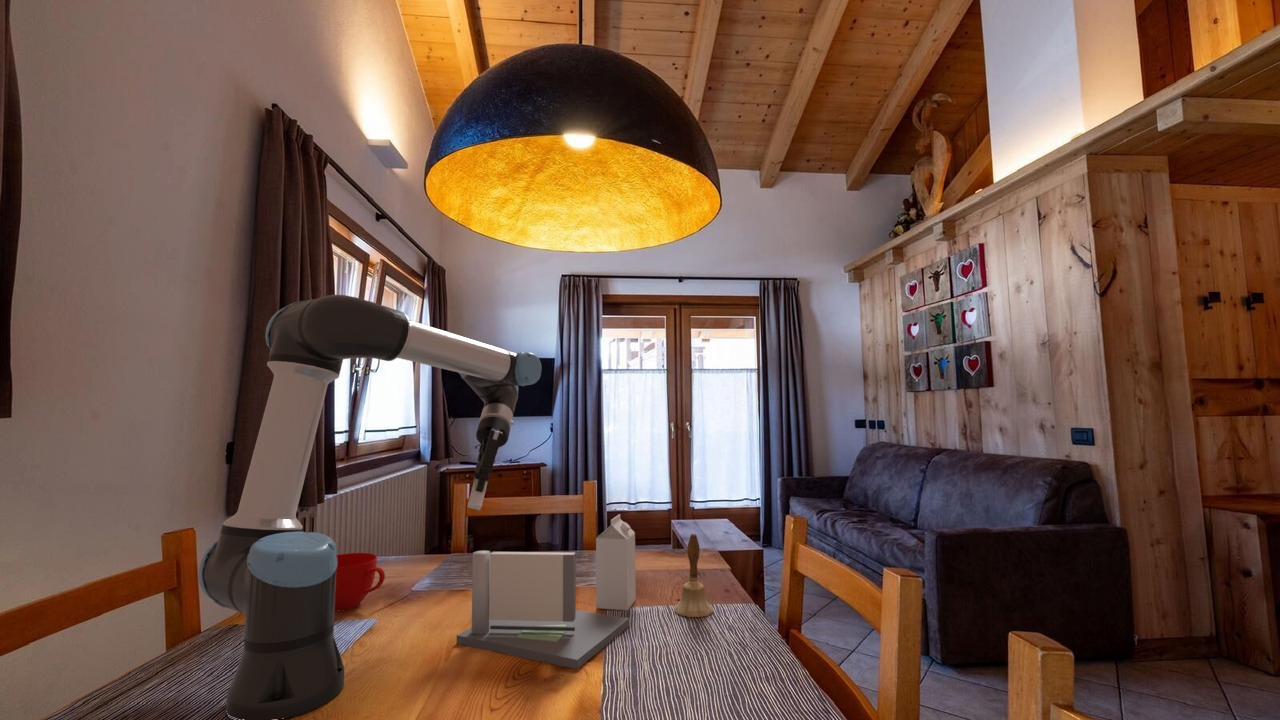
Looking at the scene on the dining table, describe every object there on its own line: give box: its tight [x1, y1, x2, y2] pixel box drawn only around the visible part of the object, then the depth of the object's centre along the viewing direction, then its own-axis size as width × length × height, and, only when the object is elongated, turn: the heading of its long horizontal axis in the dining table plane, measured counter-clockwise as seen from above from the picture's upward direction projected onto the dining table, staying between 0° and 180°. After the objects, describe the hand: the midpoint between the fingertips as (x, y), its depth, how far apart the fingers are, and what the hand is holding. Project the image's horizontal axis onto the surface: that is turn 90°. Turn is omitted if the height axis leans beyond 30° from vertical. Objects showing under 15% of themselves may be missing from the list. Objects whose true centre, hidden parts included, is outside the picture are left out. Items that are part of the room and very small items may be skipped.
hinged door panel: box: [471, 550, 577, 635], centre depth 104 cm, size 20×3×14 cm, turn 85°
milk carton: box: [595, 513, 637, 611], centre depth 123 cm, size 7×7×19 cm
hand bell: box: [674, 533, 714, 618], centre depth 119 cm, size 8×8×16 cm
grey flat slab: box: [455, 609, 630, 670], centre depth 106 cm, size 20×26×2 cm
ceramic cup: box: [334, 552, 386, 612], centre depth 123 cm, size 13×17×10 cm
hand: (474, 506), depth 114 cm, fingers closed
